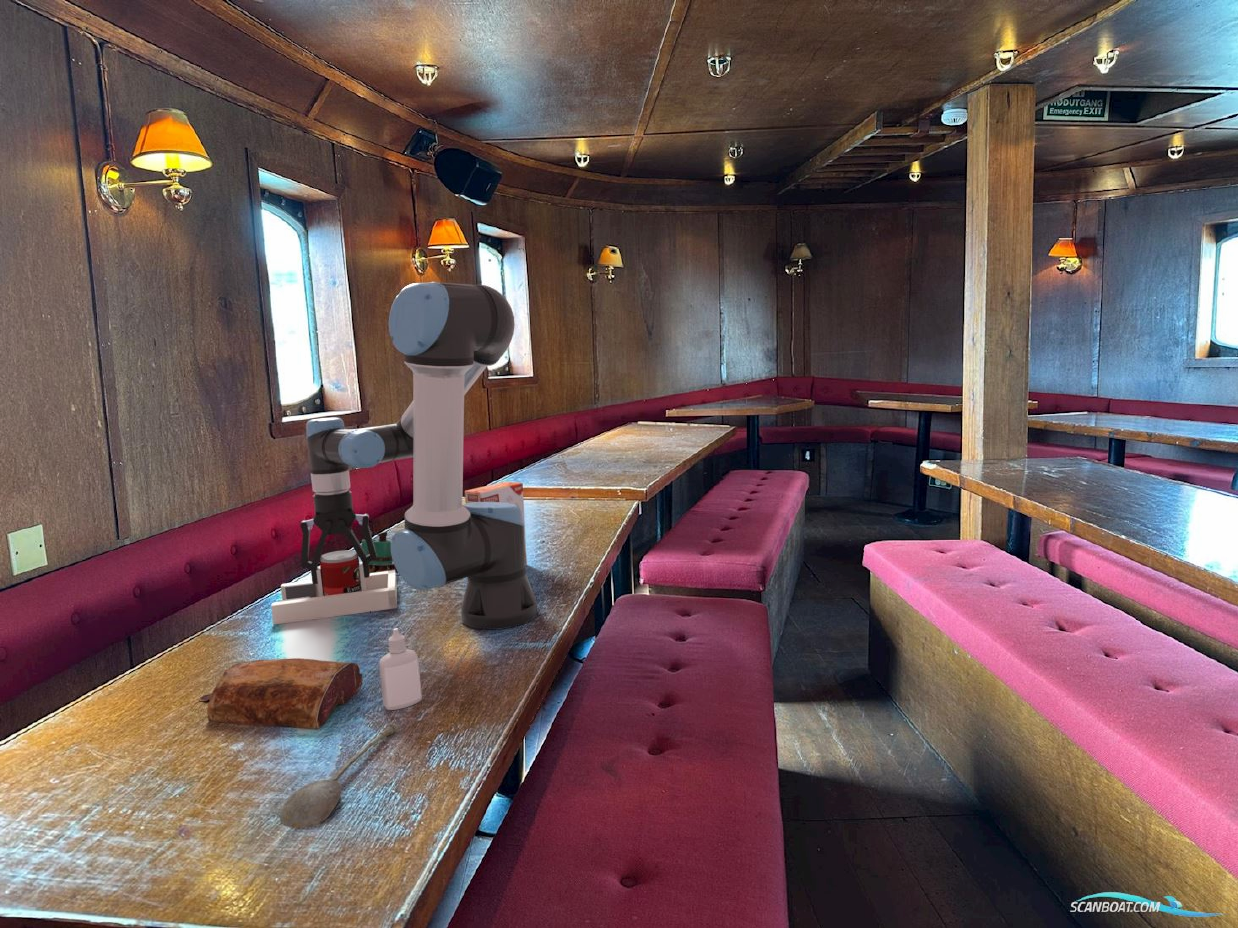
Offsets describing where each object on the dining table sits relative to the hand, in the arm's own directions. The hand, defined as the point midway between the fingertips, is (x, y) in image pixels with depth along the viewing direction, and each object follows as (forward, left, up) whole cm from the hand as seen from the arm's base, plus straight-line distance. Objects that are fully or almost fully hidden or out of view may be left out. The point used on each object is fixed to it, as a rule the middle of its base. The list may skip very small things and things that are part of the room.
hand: (343, 594), depth 160 cm
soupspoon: (-70, -5, -3) cm, 71 cm away
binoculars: (+23, -8, -2) cm, 25 cm away
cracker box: (+10, -35, -2) cm, 36 cm away
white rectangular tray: (0, +1, -2) cm, 2 cm away
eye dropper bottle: (-53, -12, -2) cm, 54 cm away
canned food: (0, 0, -2) cm, 2 cm away
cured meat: (-43, +7, -3) cm, 44 cm away
